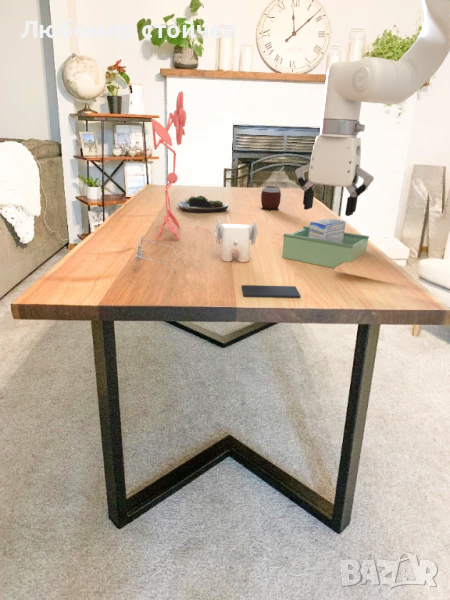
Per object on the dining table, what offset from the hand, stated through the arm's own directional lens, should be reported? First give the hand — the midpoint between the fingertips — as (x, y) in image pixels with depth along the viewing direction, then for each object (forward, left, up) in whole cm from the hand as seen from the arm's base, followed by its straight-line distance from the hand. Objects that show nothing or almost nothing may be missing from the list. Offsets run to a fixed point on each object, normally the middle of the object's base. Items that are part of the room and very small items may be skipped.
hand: (328, 211), depth 98 cm
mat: (-2, +28, -11) cm, 30 cm away
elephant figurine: (+16, +13, -11) cm, 23 cm away
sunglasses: (+26, +28, -11) cm, 40 cm away
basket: (0, 0, -11) cm, 11 cm away
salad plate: (+59, -32, -11) cm, 68 cm away
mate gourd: (+41, -50, -11) cm, 65 cm away
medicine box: (0, 0, -11) cm, 11 cm away
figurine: (+38, +4, -11) cm, 39 cm away
